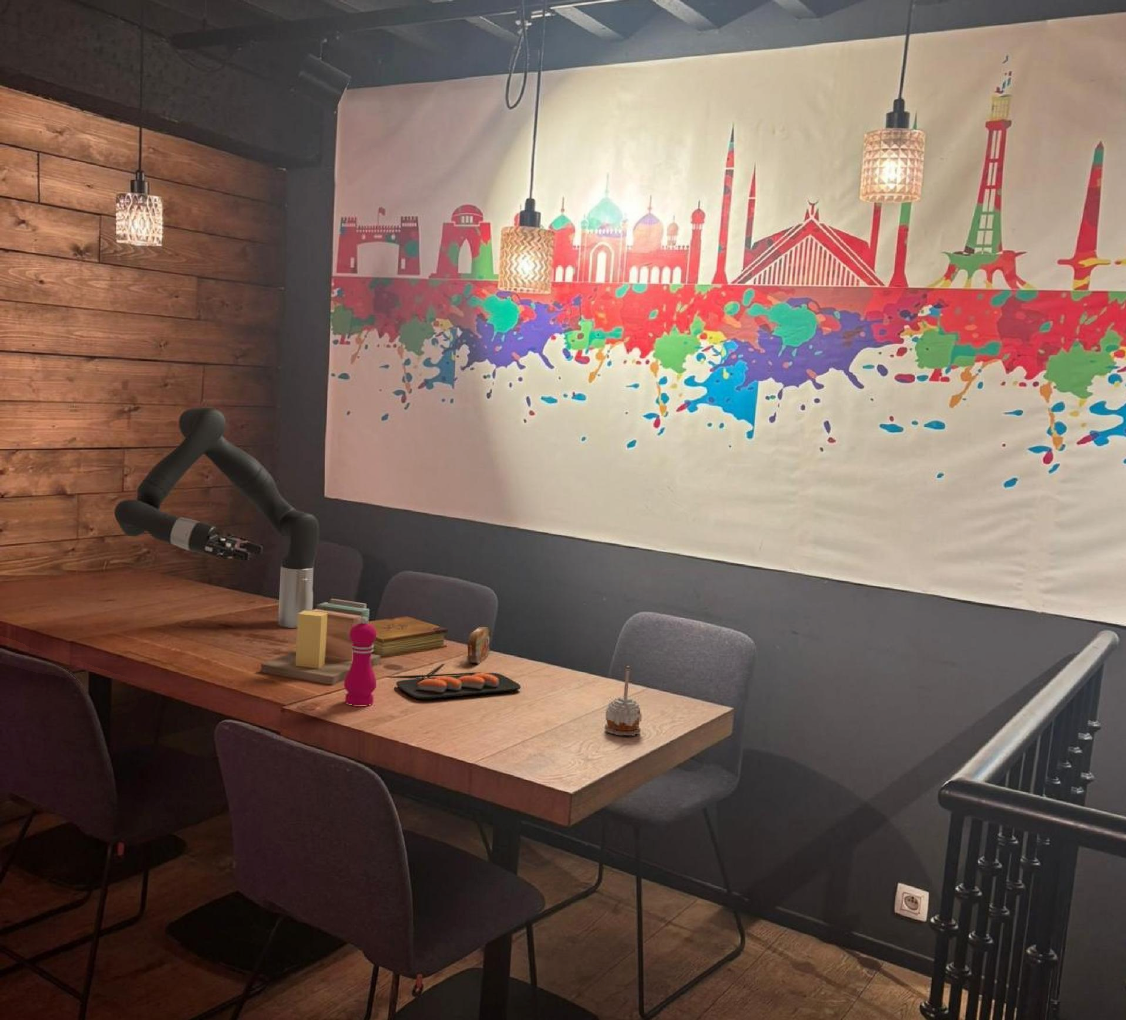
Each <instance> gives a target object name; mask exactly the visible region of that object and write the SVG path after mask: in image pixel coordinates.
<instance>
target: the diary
mask: <svg viewBox="0 0 1126 1020" xmlns="http://www.w3.org/2000/svg"><path fill="white" fill-rule="evenodd" d="M369 624H370V625H372V626H373V627H374V628H375V630H376V639H375V641H374V642H373V643H372V644H373V646H374V647H373V652H371V654H375V655H381V659H385V658H390V657H396V656H402V655H407V654H413V653H418V652H425V651H431V650H437V649H444V648H447V647H448V646H447V645H446V644H445V643H444V641H445V633H448V631H449V630H448V628H445V627H442V626H438V625H436V624H432V623H430V622H425V621H423V620H419V619H416V618H413V617H410V616H407V615H406V616H399V617H393V618H385V619H378V620H371V621H370V620H369Z"/></svg>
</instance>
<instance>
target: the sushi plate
mask: <svg viewBox="0 0 1126 1020" xmlns="http://www.w3.org/2000/svg"><path fill="white" fill-rule="evenodd" d="M445 665H446V663H441V664H440V665H439V666H437V667H436V668H435V669H433V670H431V671H430V672H428V673H427V674H415V675H413V674H412V675H411V674H410V675H391V676H387V677H388V678H391V679H394V678H395V679H402V680H398V681H396V683H395V684H396V686H397V687H398V688H399V689H401V690H402V691H403V692H404V693H406V694H408V695H409V696H411V697H413V698H415V699H439V698H452V697H462V696H471V695H472V694H473V695H481V694H491V693H501V692H512V691H517V690H520V689H521V688H522V686H521V685H520V684H519V683H518V682H516V681H514V680H513V679H510V678H509V677H507V676H505V675H503V674H500V673H495V672H483V673H482V672H461V673H459V672H458V673H440V674H438V673H437V674H434V673H435V672H437V671H438V670H441V669H442V668H443V667H444V666H445ZM451 696H452V697H451Z"/></svg>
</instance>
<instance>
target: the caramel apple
mask: <svg viewBox="0 0 1126 1020" xmlns="http://www.w3.org/2000/svg"><path fill="white" fill-rule="evenodd" d="M630 669H631V667H630V666H629V665H627V666H626V667H625V677H624V678H625V679H624V680H625V681H624V690H623V696H620V697H619V696H618V698H617V697H615V698H614V700H611V701H610V702H609V703H608V707H606V709H605V721H606V724H605V726H604V730H605V731H606V732H608V733H609V734H614V735H616V736H623V735H627V736H629V735H632V736H636V735H635V734H637V735H639V734H640V733H641V730H642V729H641V728H640V723H641V722H642V721H643V720H642V713H641V707H640V705H639V704H638V702H637V700H635V699H633V698H631V697H629V696H628V693H629V692H628V691H629V680H630ZM638 733H639V734H638Z"/></svg>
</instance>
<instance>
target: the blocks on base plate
mask: <svg viewBox="0 0 1126 1020" xmlns="http://www.w3.org/2000/svg"><path fill="white" fill-rule="evenodd" d="M311 611H313V612H322V613H327V632H326V650H325V665H323V666H322V667H320V668H312V667H304V666H295V665H296V650H295V651H292V652H289V653H287V654H284V655H282V656H281V655H280V656H279V657H275V658H273V659H271V660H269V661H265V662H263V663H260V673H263V674H268V673H269V674H270V675H275V676H280V677H287V678H292V679H297V680H303V681H308V682H309V681H310V682H315V683H320V684H325V685H330V684H331V686H335V685H337V684H338V683H340V682H342V681H345V678H346V675H347V673H348V671H349V670H350V667H351V665H352V662H353V652H352V651H351V648H352V647H351V645H352V644H353V642H352V641H351V639H350V631H351V629H352V627H353V626H354V625H356V624H359V623H360V619H361V618H362V617H366V618H367V619H368V622H367V624H369V622H370V620H369V619H370V608H367V603H363V602H357V601H351V600H343V599H336V598H331V599H330V601H329V602H326V601H325V602H322V603H319V604H317V605H316V608H315V609H312V610H311ZM381 659H382V658H381V655H375V654H371V666H372V668H373V667H375V666H377V665H379V664H381Z"/></svg>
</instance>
